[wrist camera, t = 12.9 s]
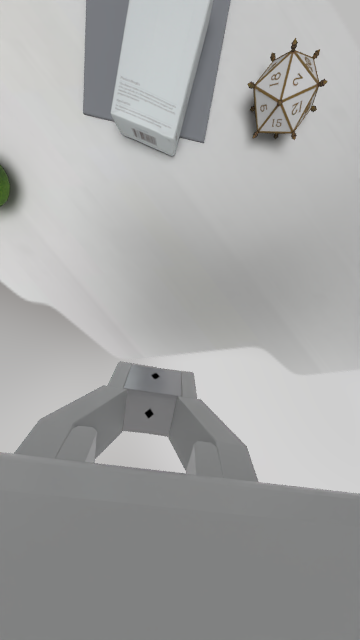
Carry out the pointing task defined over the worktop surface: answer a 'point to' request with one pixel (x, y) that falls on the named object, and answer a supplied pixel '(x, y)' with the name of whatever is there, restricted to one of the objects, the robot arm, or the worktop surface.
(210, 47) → the mat
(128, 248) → the worktop surface
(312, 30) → the worktop surface
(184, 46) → the skincare box
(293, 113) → the game die
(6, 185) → the fruit
